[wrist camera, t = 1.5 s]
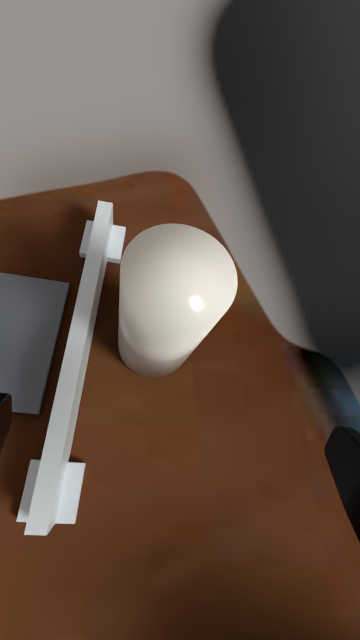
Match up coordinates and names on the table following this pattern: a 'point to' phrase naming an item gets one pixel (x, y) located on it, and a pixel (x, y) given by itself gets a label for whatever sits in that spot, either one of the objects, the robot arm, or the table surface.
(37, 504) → the light grey long bar
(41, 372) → the slate mat
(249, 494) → the table surface
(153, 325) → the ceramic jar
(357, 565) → the table surface
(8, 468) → the table surface
